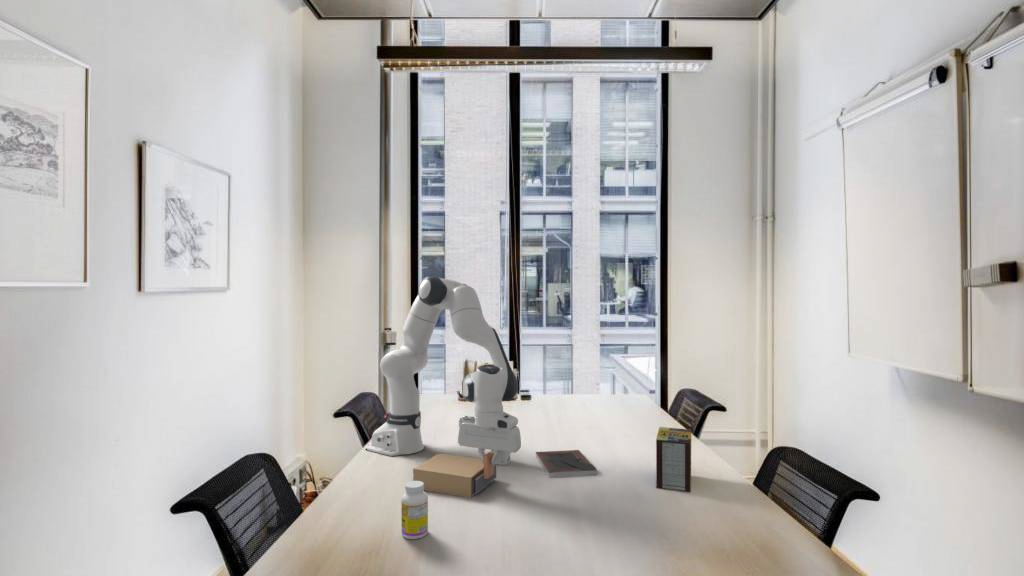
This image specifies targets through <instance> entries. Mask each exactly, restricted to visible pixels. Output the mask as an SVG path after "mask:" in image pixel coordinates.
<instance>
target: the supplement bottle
mask: <svg viewBox="0 0 1024 576" xmlns="http://www.w3.org/2000/svg"><path fill="white" fill-rule="evenodd" d="M404 486H405V488H404V489H405V493H404V494H403V495H402V496H401V501H400V503H401V535H402V536H403V538H404V539H407V540H419V539H421V538H424V537H425V536H427V534H428V531H429V495H428V494H427V492H425V490H424V483H423V482H421V481H413V480H412V481H408V482H406V483H405V485H404Z"/></svg>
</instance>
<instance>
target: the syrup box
mask: <svg viewBox="0 0 1024 576" xmlns="http://www.w3.org/2000/svg"><path fill="white" fill-rule="evenodd" d="M490 451H493V450H490ZM510 461H511V452H504V451H499V454H498V455H497V457H496V463H495V464H499V465H498V466H507V465H508V464H509V462H510Z"/></svg>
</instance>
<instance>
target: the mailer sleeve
mask: <svg viewBox="0 0 1024 576" xmlns="http://www.w3.org/2000/svg"><path fill="white" fill-rule="evenodd" d="M483 470H484V463H482V458H474V457H467V456H460V455H453V454H445V453H437V454H435V455H434V456H432V457H431V458H429V459H427V460H426V461H424V462H422V463H421V464H419V465H417V466H416V467H414V468H413V469H412V475H413V477H412V479H413V480H412V481H421V482H423V483H424V490H423V491H429V492H436V493H442V494H448V495H454V496H460V497H464V498H472V497H473V496H474V495H476V493H474V494H472V478H473V477H475V476H476V475H477V474H479V473H480V472H481V471H483Z"/></svg>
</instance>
